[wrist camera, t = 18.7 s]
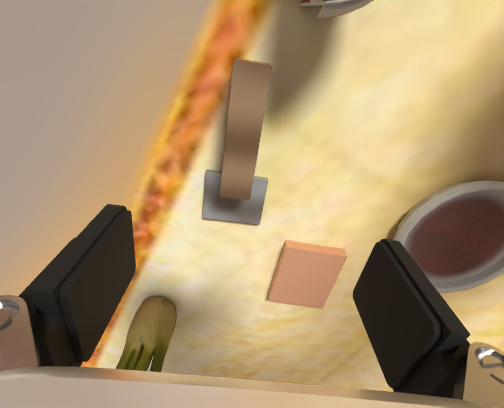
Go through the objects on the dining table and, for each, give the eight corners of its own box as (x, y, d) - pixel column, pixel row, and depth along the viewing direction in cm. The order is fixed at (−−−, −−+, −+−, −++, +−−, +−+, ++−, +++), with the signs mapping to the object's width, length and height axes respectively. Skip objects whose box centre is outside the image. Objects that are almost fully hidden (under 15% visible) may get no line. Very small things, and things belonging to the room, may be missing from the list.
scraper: (214, 54, 25) (207, 55, 21) (288, 67, 26) (296, 70, 21) (203, 214, 34) (196, 238, 29) (259, 221, 34) (260, 246, 30)
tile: (287, 247, 34) (269, 301, 39) (347, 256, 35) (322, 308, 40) (285, 237, 36) (268, 290, 41) (342, 246, 37) (319, 297, 42)
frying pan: (679, 151, 28) (454, 312, 39) (643, 143, 30) (441, 296, 42) (594, 49, 23) (366, 264, 34) (560, 49, 26) (358, 250, 37)
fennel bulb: (183, 298, 41) (160, 383, 30) (175, 318, 43) (151, 404, 33) (144, 287, 40) (106, 372, 29) (138, 309, 42) (101, 394, 32)
